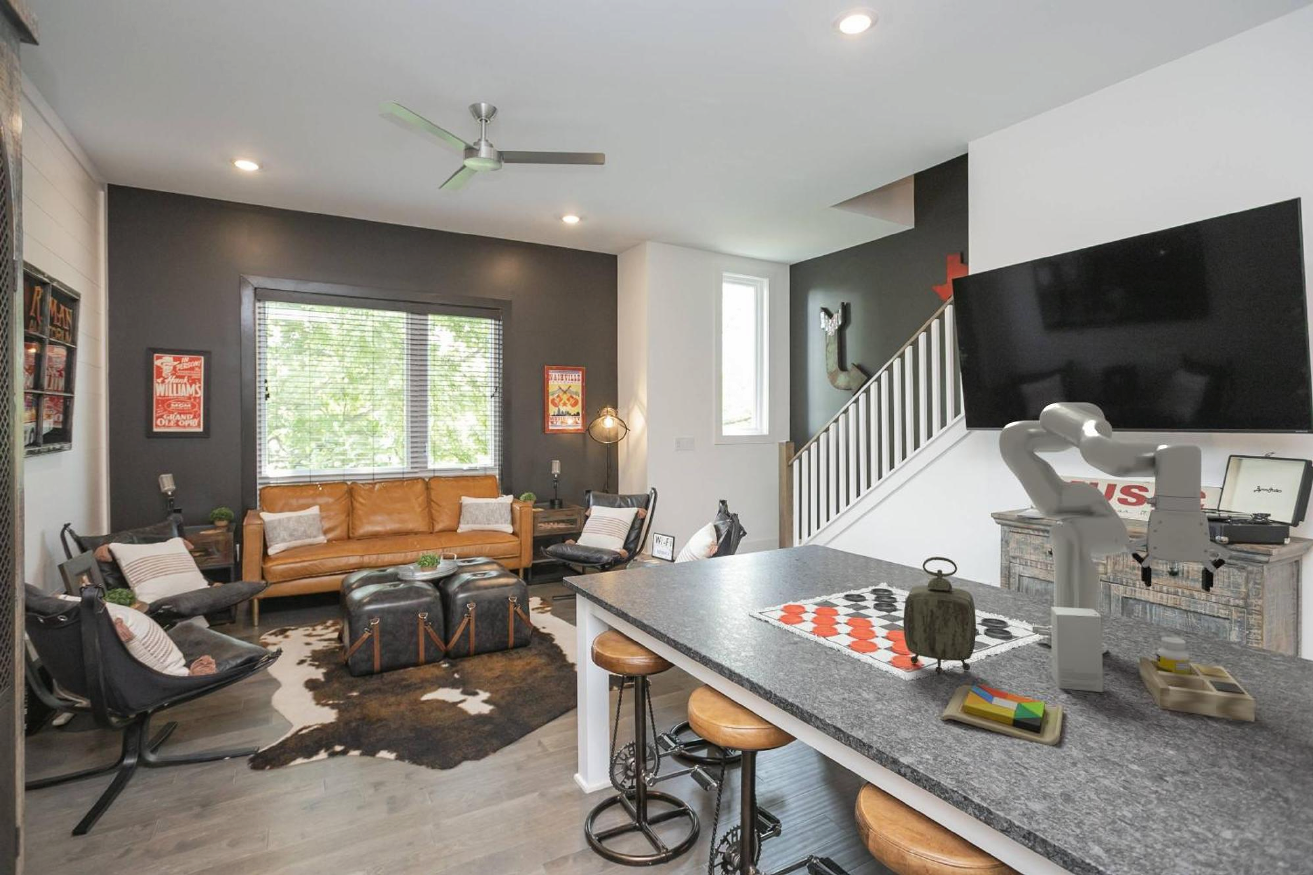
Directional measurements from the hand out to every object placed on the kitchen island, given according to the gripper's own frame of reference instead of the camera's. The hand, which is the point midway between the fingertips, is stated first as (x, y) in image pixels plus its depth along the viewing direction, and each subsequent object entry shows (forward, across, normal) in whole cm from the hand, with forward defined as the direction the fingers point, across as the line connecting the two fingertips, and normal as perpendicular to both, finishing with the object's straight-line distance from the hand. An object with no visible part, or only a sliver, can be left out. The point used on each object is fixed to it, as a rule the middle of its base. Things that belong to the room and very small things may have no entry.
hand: (1176, 587), depth 140 cm
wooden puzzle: (+21, -32, -31) cm, 49 cm away
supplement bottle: (+21, 0, 0) cm, 21 cm away
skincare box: (+21, -18, -8) cm, 29 cm away
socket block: (+20, +2, -5) cm, 21 cm away
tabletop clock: (+21, -44, -11) cm, 50 cm away
